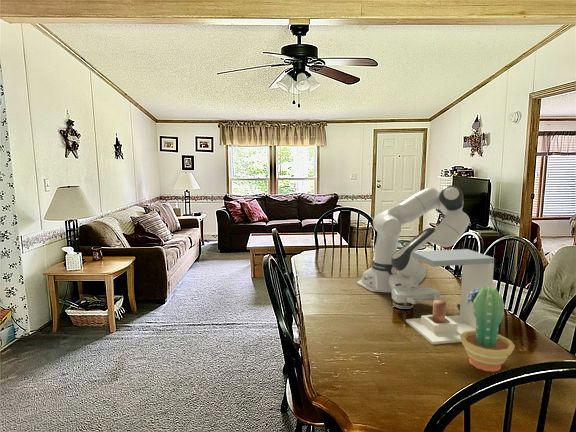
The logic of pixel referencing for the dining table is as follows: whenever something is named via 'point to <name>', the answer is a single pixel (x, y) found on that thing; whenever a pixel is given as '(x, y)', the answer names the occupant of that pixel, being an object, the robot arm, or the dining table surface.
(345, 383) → the dining table surface
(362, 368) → the dining table surface
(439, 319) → the peg
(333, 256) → the dining table surface
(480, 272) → the awning socket
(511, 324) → the dining table surface
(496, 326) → the potted cactus
